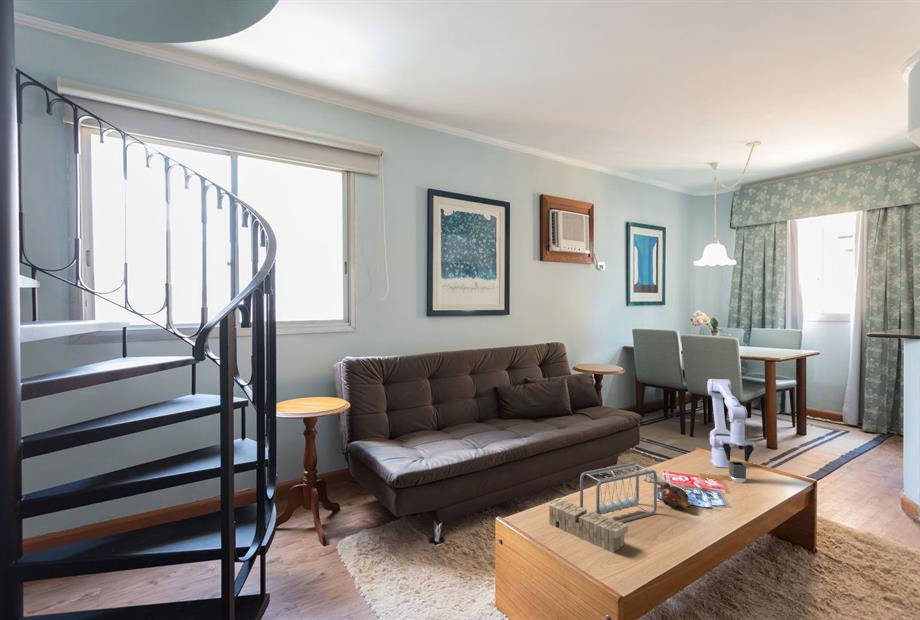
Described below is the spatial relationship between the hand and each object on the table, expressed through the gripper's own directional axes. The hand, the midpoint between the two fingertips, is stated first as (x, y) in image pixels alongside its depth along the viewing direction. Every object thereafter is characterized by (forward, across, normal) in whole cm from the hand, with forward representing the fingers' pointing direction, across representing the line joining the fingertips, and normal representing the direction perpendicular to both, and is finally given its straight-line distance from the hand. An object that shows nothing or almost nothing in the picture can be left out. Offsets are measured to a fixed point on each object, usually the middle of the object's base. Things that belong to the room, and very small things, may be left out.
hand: (737, 460), depth 209 cm
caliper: (+10, -35, -15) cm, 39 cm away
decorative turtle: (+10, -36, -34) cm, 50 cm away
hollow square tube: (+7, 0, 0) cm, 7 cm away
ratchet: (+9, -7, 0) cm, 11 cm away
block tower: (+10, -74, -64) cm, 99 cm away
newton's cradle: (+10, -60, -47) cm, 77 cm away
